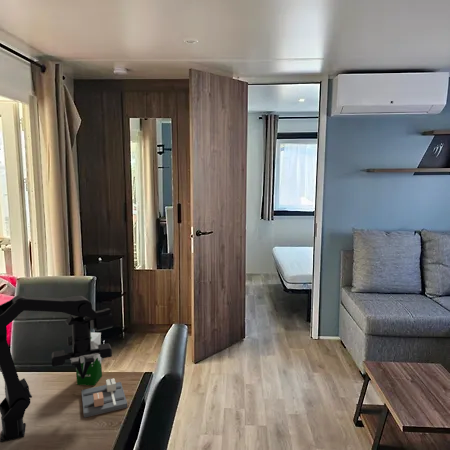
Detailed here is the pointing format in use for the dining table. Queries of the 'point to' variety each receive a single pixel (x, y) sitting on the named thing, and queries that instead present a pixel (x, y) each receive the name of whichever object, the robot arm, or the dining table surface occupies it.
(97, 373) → the milk carton
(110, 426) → the dining table surface
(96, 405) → the fader terracotta
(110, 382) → the fader ivory
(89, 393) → the console
